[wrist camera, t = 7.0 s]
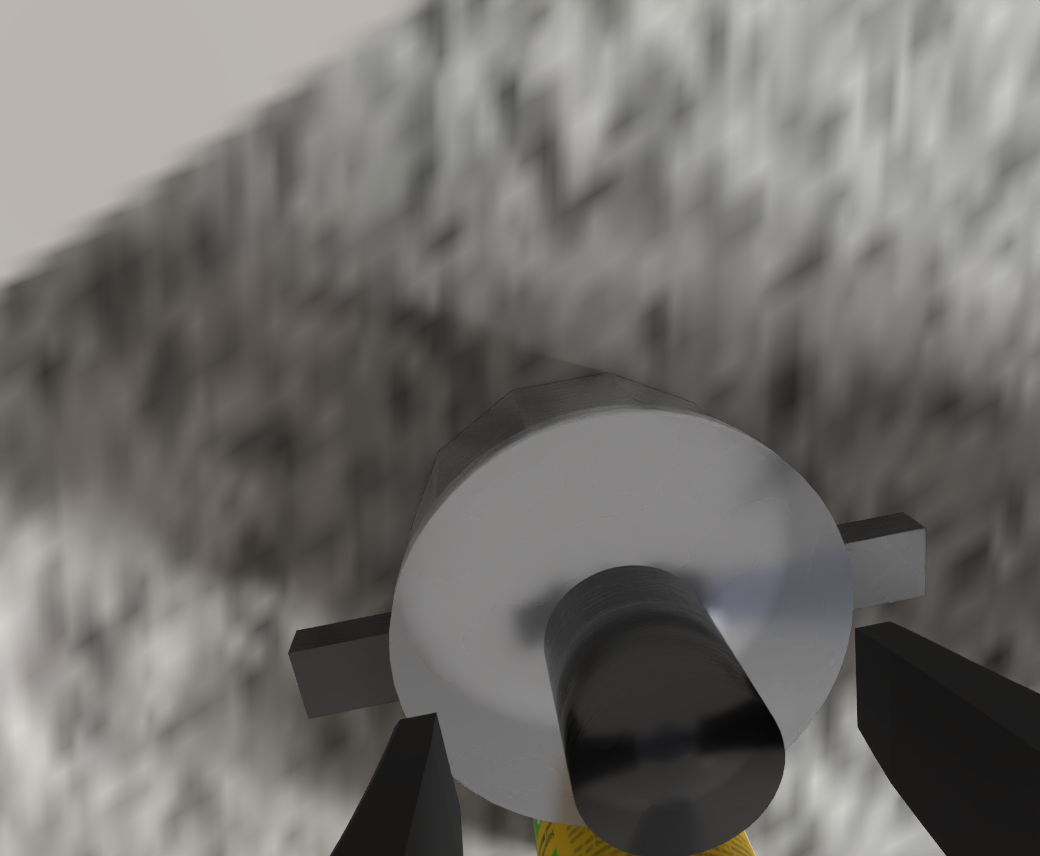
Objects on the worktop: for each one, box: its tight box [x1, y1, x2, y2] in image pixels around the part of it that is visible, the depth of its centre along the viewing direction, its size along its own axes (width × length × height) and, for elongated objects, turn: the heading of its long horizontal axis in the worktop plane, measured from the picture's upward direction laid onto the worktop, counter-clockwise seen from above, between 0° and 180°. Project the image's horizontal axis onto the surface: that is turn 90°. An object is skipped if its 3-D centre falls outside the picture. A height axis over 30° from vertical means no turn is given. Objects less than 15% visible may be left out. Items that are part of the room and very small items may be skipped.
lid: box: [389, 404, 854, 856], centre depth 13 cm, size 9×9×4 cm
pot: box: [288, 373, 926, 718], centre depth 17 cm, size 13×9×4 cm, turn 99°
